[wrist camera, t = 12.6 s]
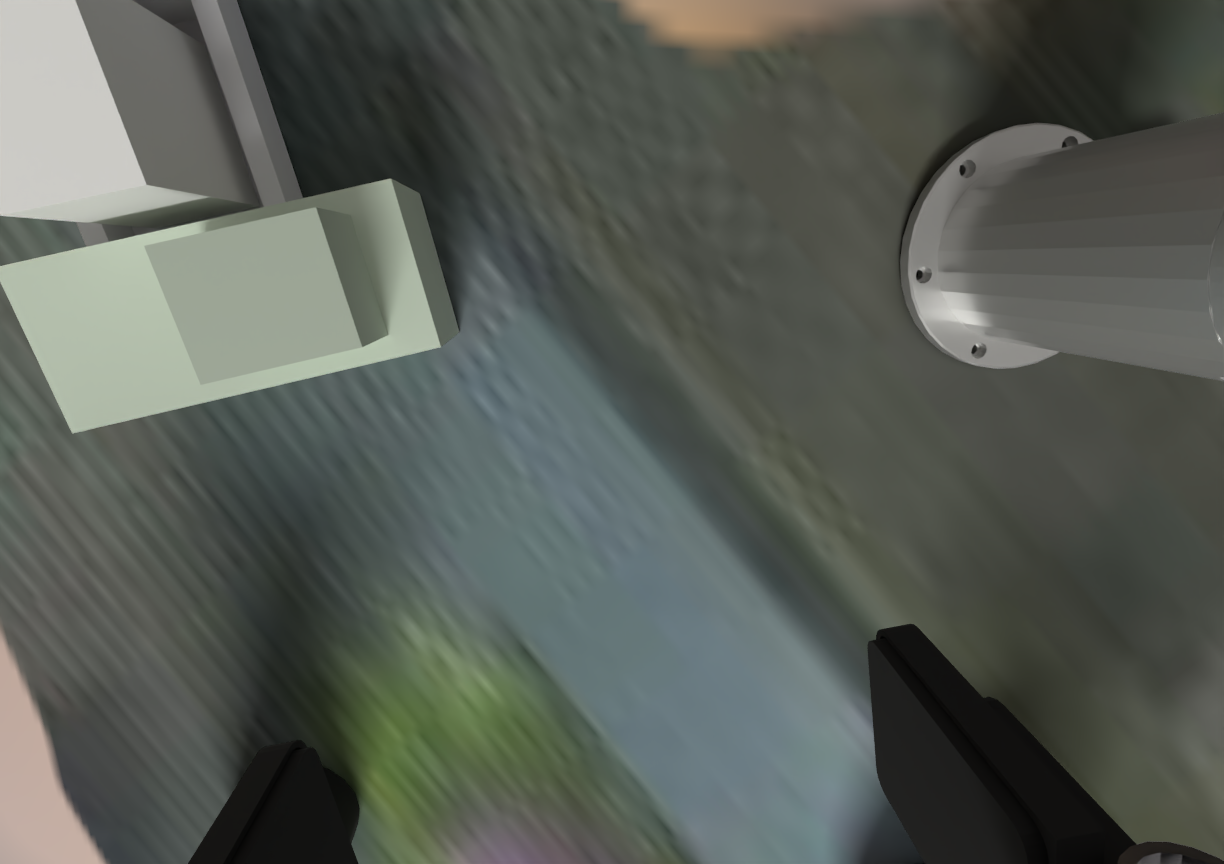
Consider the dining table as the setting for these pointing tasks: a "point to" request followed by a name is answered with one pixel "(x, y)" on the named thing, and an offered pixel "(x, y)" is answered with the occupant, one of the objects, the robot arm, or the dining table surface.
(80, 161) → the orange-topped white box
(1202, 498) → the dining table surface
